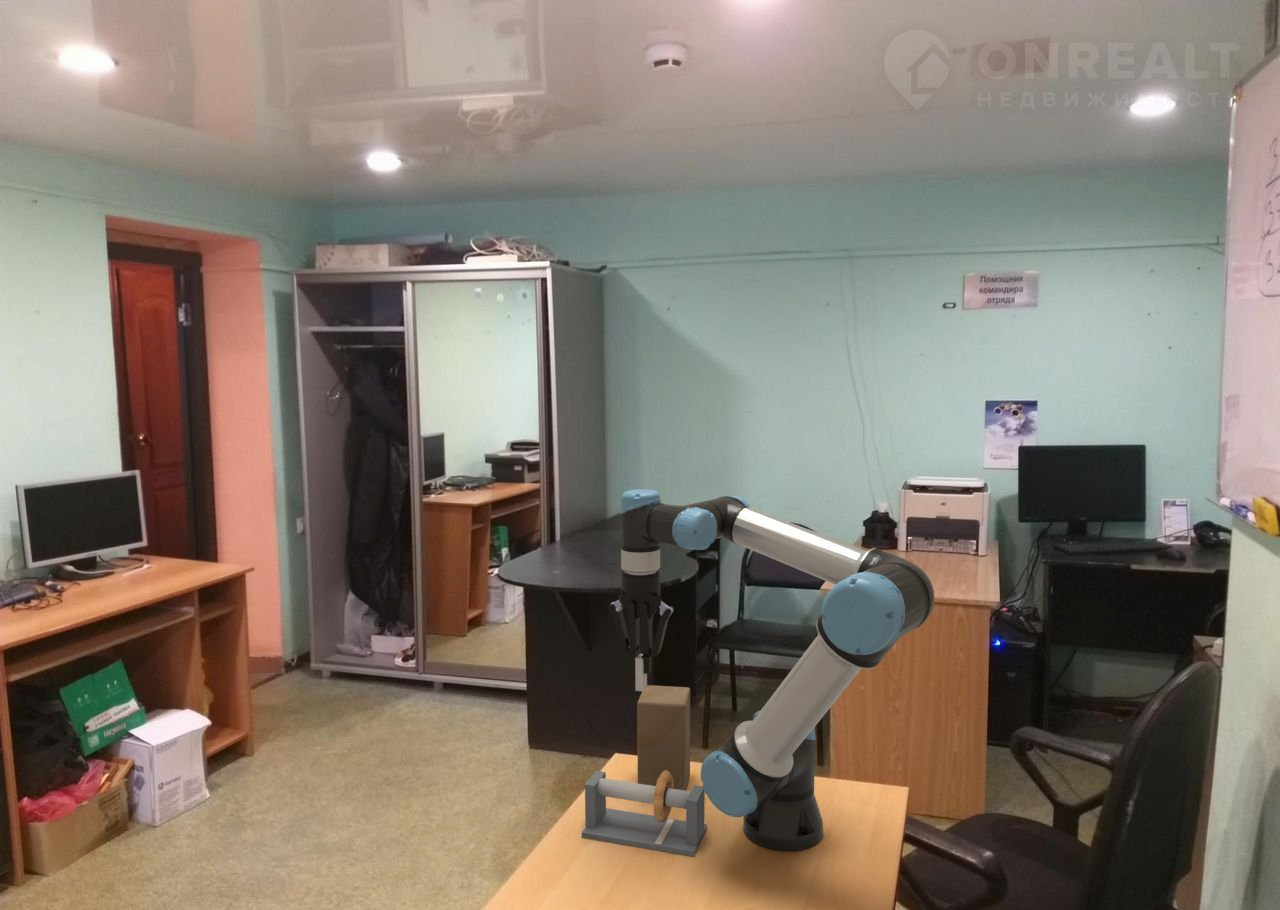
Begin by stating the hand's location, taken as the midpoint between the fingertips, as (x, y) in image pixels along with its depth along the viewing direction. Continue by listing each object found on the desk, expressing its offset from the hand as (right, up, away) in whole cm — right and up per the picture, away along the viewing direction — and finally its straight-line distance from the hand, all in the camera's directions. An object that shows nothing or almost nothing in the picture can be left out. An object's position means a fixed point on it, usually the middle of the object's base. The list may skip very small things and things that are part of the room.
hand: (641, 688), depth 175 cm
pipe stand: (+1, -27, -3) cm, 27 cm away
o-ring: (+4, -23, -5) cm, 24 cm away
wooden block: (+5, -25, +16) cm, 30 cm away
